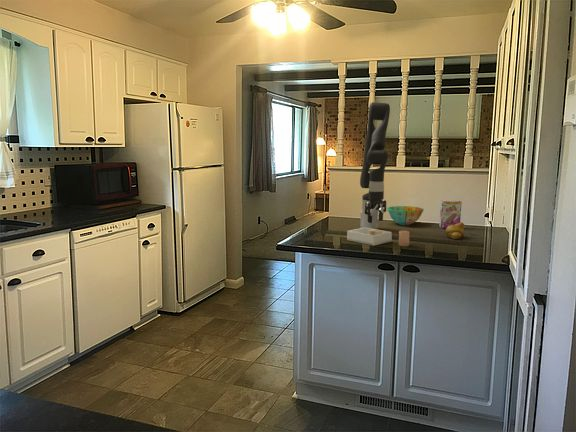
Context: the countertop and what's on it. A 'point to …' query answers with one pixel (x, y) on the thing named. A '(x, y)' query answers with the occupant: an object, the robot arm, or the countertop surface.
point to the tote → (368, 236)
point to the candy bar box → (449, 213)
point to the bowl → (405, 214)
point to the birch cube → (375, 232)
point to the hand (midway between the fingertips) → (375, 221)
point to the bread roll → (455, 231)
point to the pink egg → (403, 238)
